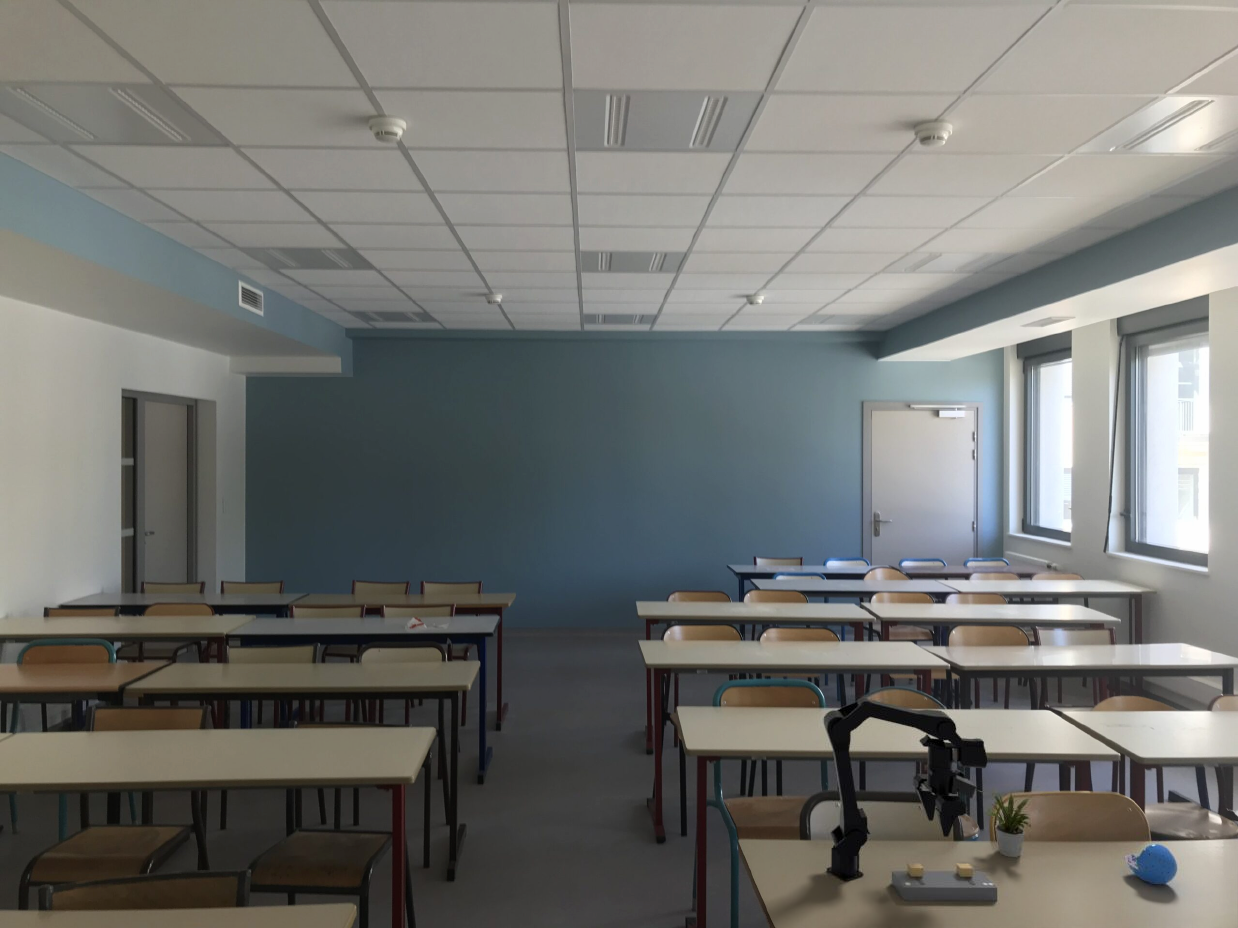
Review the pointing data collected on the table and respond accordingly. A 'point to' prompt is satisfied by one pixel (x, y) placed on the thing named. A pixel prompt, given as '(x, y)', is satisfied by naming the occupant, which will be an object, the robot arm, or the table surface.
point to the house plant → (1009, 826)
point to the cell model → (1153, 864)
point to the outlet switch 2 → (964, 870)
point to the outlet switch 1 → (915, 869)
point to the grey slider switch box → (944, 886)
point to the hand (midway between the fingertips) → (938, 828)
